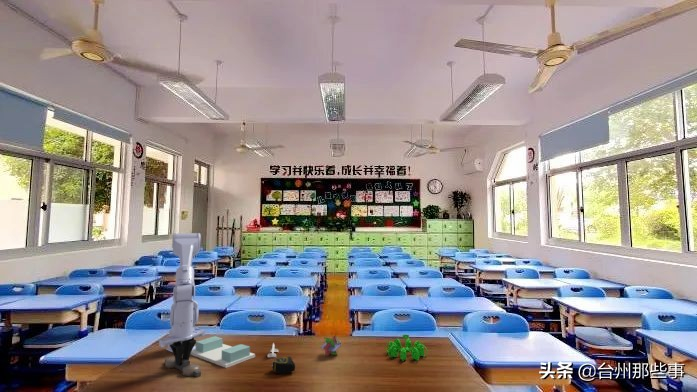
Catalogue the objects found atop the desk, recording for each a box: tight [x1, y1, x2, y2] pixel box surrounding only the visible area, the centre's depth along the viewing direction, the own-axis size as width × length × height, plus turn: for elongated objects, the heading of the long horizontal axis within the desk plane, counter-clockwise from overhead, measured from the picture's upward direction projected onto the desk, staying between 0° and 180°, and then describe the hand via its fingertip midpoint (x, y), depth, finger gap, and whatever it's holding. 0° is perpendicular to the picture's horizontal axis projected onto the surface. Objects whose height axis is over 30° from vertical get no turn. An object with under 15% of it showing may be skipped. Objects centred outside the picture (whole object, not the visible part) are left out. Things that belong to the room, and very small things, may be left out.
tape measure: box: [271, 356, 296, 375], centre depth 115 cm, size 7×7×4 cm
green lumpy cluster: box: [385, 334, 428, 362], centre depth 129 cm, size 15×15×7 cm
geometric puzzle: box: [320, 335, 342, 358], centre depth 129 cm, size 7×7×8 cm
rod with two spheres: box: [164, 356, 202, 378], centre depth 117 cm, size 20×5×3 cm, turn 54°
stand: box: [190, 335, 256, 369], centre depth 129 cm, size 22×12×4 cm, turn 54°
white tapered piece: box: [267, 342, 280, 358], centre depth 125 cm, size 15×7×4 cm, turn 2°
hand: (182, 363), depth 117 cm, fingers closed on rod with two spheres, 2 cm apart
